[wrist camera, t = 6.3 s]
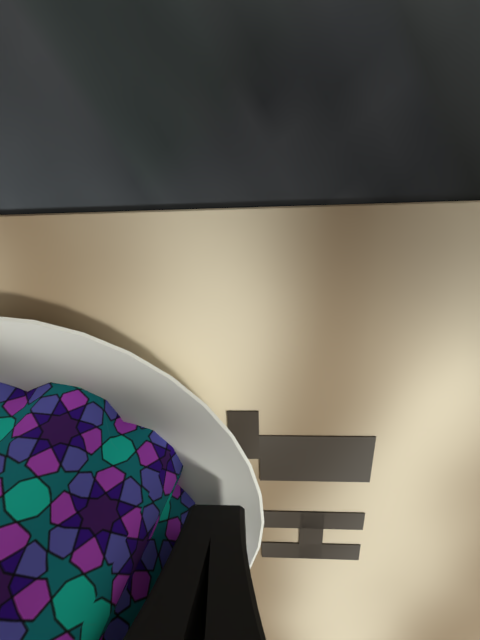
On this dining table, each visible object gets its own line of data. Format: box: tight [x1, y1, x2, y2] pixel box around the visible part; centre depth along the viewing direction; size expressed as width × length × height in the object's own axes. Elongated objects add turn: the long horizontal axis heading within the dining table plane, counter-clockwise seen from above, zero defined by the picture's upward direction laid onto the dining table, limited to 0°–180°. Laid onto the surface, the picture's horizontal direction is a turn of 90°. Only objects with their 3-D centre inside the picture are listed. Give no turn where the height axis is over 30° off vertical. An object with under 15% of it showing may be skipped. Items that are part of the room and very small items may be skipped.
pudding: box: [0, 317, 264, 640], centre depth 9 cm, size 12×12×5 cm
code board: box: [0, 200, 480, 640], centre depth 11 cm, size 28×16×1 cm, turn 92°
